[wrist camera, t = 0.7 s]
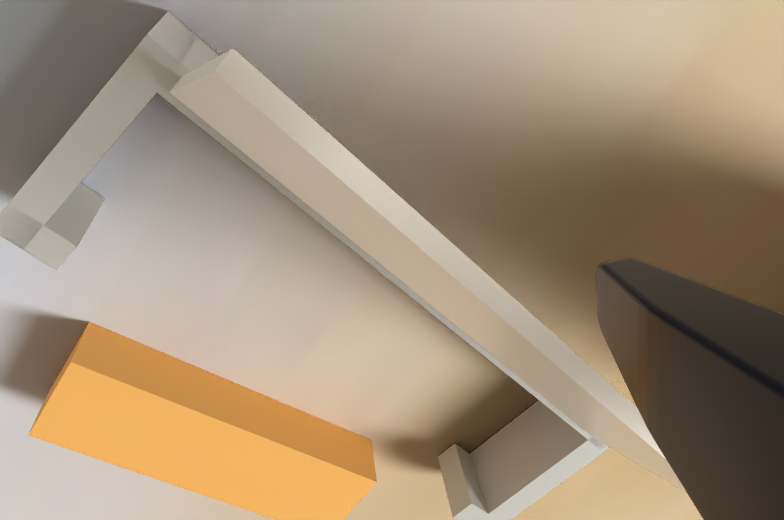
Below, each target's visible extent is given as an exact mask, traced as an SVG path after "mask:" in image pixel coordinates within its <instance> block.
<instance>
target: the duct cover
mask: <svg viewBox="0 0 784 520" xmlns="http://www.w3.org/2000/svg"><path fill="white" fill-rule="evenodd" d="M169 93H171V94H172V95H173V96H174V97H175V98H177V99H178V100H179V101H180V102H182V103H183V104H184V105H185V106H187V107H188V108H189V109H190V110H191V111H193V112H194V113H195V114H196V115H198V116H199V117H200V118H201V119H203V120H204V121H205V122H206V123H207V124H209V125H210V126H211V127H212V128H214V129H215V130H216V131H217V132H219V133H220V134H221V135H222V136H223V137H225V138H226V139H227V140H228V141H230V142H231V143H232V144H233V145H235V146H236V147H237V148H238V149H239V150H241V151H242V152H243V153H244V154H246V155H247V156H248V157H249V158H251V159H252V160H253V161H254V162H255V163H257V164H258V165H259V166H260V167H262V168H263V169H264V170H265V171H266V172H268V173H269V174H270V175H271V176H273V177H274V178H275V179H276V180H278V181H279V182H280V183H281V184H282V185H284V186H285V187H286V188H287V189H289V190H290V191H291V192H292V193H294V194H295V195H296V196H297V197H298V198H300V199H301V200H302V201H303V202H305V203H306V204H307V205H308V206H310V207H311V208H312V209H313V210H314V211H316V212H317V213H318V214H319V215H321V216H322V217H323V218H324V219H326V220H327V221H328V222H329V223H330V224H332V225H333V226H334V227H335V228H337V229H338V230H339V231H340V232H342V233H343V234H344V235H345V236H346V237H348V238H349V239H350V240H351V241H353V242H354V243H355V244H356V245H358V246H359V247H360V248H361V249H362V250H364V251H365V252H366V253H367V254H369V255H370V256H371V257H372V258H374V259H375V260H376V261H377V262H378V263H380V264H381V265H382V266H383V267H385V268H386V269H387V270H388V271H390V272H391V273H392V274H393V275H394V276H396V277H397V278H398V279H399V280H401V281H402V282H403V283H404V284H406V285H407V286H408V287H409V288H410V289H412V290H413V291H414V292H415V293H417V294H418V295H419V296H420V297H422V298H423V299H424V300H425V301H426V302H428V303H429V304H430V305H431V306H433V307H434V308H435V309H436V310H437V311H439V312H440V313H441V314H442V315H444V316H445V317H446V318H447V319H449V320H450V321H451V322H452V323H453V324H455V325H456V326H457V327H458V328H460V329H461V330H462V331H463V332H465V333H466V334H467V335H468V336H469V337H471V338H472V339H473V340H474V341H476V342H477V343H478V344H479V345H481V346H482V347H483V348H484V349H485V350H487V351H488V352H489V353H490V354H492V355H493V356H494V357H495V358H497V359H498V360H499V361H500V362H501V363H503V364H504V365H505V366H506V367H508V368H509V369H510V370H511V371H513V372H514V373H515V374H516V375H517V376H519V377H520V378H521V379H522V380H524V381H525V382H526V383H527V384H529V385H530V386H531V387H532V388H533V389H535V390H536V391H537V392H538V393H540V394H541V395H542V396H543V397H545V398H546V399H547V400H548V401H549V402H551V403H552V404H553V405H554V406H556V407H557V408H558V409H559V410H561V411H562V412H563V413H564V414H565V415H567V416H568V417H569V418H570V419H572V420H573V421H574V422H575V423H577V424H578V425H579V426H580V427H581V428H583V429H584V430H585V431H586V432H588V433H589V434H590V435H591V436H592V437H594V438H595V439H596V440H598V441H600V442H601V443H603V444H605V445H607V446H608V447H610V448H612V449H613V450H615V451H617V452H618V453H620V454H622V455H623V456H625V457H627V458H628V459H630V460H632V461H633V462H635V463H637V464H638V465H640V466H642V467H644V468H645V469H647V470H649V471H650V472H652V473H654V474H655V475H657V476H659V477H660V478H662V479H664V480H665V481H667V482H669V483H670V484H672V485H674V486H675V487H677V488H679V489H681V490H682V491H684V492H686V490H685V489H684V487H683V486H682V484H681V482H680V481H679V479H678V478H677V476H676V474H675V473H674V471H673V470H672V468H671V466H670V465H669V463H668V462H667V460H666V458H665V457H664V455H663V453H662V452H661V450H660V449H659V447H658V445H657V444H656V442H655V440H654V439H653V437H652V435H651V434H650V432H649V430H648V428H647V427H646V425H645V422H644V420H643V418H642V416H641V414H640V412H639V410H638V408H637V407H636V406H635V405H634V404H632V403H631V402H630V401H629V400H628V399H627V398H626V397H625V396H623V395H622V394H621V393H620V392H619V391H618V390H617V389H616V388H614V387H613V386H612V385H611V384H610V383H609V382H608V381H607V380H605V379H604V378H603V377H602V376H601V375H600V374H599V373H598V372H596V371H595V370H594V369H593V368H592V367H591V366H590V365H589V364H587V363H586V362H585V361H584V360H583V359H582V358H581V357H580V356H579V355H577V354H576V353H575V352H574V351H573V350H572V349H571V348H570V347H568V346H567V345H566V344H565V343H564V342H563V341H562V340H561V339H559V338H558V337H557V336H556V335H555V334H554V333H553V332H552V331H550V330H549V329H548V328H547V327H546V326H545V325H544V324H543V323H541V322H540V321H539V320H538V319H537V318H536V317H535V316H534V315H532V314H531V313H530V312H529V311H528V310H527V309H526V308H525V307H523V306H522V305H521V304H520V303H519V302H518V301H517V300H516V299H514V298H513V297H512V296H511V295H510V294H509V293H508V292H507V291H505V290H504V289H503V288H502V287H501V286H500V285H499V284H498V283H496V282H495V281H494V280H493V279H492V278H491V277H490V276H489V275H487V274H486V273H485V272H484V271H483V270H482V269H481V268H480V267H478V266H477V265H476V264H475V263H474V262H473V261H472V260H471V259H470V258H468V257H467V256H466V255H465V254H464V253H463V252H462V251H461V250H459V249H458V248H457V247H456V246H455V245H454V244H453V243H452V242H450V241H449V240H448V239H447V238H446V237H445V236H444V235H443V234H441V233H440V232H439V231H438V230H437V229H436V228H435V227H434V226H432V225H431V224H430V223H429V222H428V221H427V220H426V219H425V218H423V217H422V216H421V215H420V214H419V213H418V212H417V211H416V210H414V209H413V208H412V207H411V206H410V205H409V204H408V203H407V202H405V201H404V200H403V199H402V198H401V197H400V196H399V195H398V194H396V193H395V192H394V191H393V190H392V189H391V188H390V187H389V186H387V185H386V184H385V183H384V182H383V181H382V180H381V179H380V178H378V177H377V176H376V175H375V174H374V173H373V172H372V171H371V170H370V169H368V168H367V167H366V166H365V165H364V164H363V163H362V162H361V161H359V160H358V159H357V158H356V157H355V156H354V155H353V154H352V153H350V152H349V151H348V150H347V149H346V148H345V147H344V146H343V145H341V144H340V143H339V142H338V141H337V140H336V139H335V138H334V137H332V136H331V135H330V134H329V133H328V132H327V131H326V130H325V129H323V128H322V127H321V126H320V125H319V124H318V123H317V122H316V121H314V120H313V119H312V118H311V117H310V116H309V115H308V114H307V113H305V112H304V111H303V110H302V109H301V108H300V107H299V106H298V105H296V104H295V103H294V102H293V101H292V100H291V99H290V98H289V97H287V96H286V95H285V94H284V93H283V92H282V91H281V90H280V89H278V88H277V87H276V86H275V85H274V84H273V83H272V82H271V81H270V80H268V79H267V78H266V77H265V76H264V75H263V74H262V73H261V72H259V71H258V70H257V69H256V68H255V67H254V66H253V65H252V64H250V63H249V62H248V61H247V60H246V59H245V58H244V57H243V56H241V55H240V54H239V53H238V52H237V51H236V50H235V49H234V48H233V49H231V50H229V51H227V52H225V53H224V54H222V55H220V56H218V57H216V58H215V59H213V60H211V61H209V62H207V63H206V64H204V65H202V66H200V67H198V68H197V69H195V70H193V71H191V72H189V73H188V74H186V75H184V76H182V77H181V78H180V79H179V81H178V82H177V83H176V84H175V86H174V87H173V88H172V89H171V91H170V92H169ZM686 493H687V492H686Z"/></svg>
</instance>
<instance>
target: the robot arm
mask: <svg viewBox="0 0 784 520" xmlns="http://www.w3.org/2000/svg"><path fill="white" fill-rule="evenodd" d="M596 285H597V308H598V320H599V324H600V328H601V331H602V333H603V335H604V337H605V340H606V342H607V344H608V346H609V348H610V350H611V352H612V355H613V357H614V359H615V361H616V363H617V365H618V367H619V370H620V372H621V374H622V376H623V378H624V380H625V382H626V385H627V387H628V389H629V391H630V393H631V395H632V397H633V400H634V402H635V404H636V406H637V408H638V410H639V412H640V414H641V416H642V418H643V420H644V422H645V425H646V427H647V428H648V430H649V432H650V434H651V435H652V437H653V439H654V440H655V442H656V444H657V445H658V447H659V449H660V450H661V452H662V453H663V455H664V457H665V458H666V460H667V462H668V463H669V465H670V466H671V468H672V470H673V471H674V473H675V474H676V476H677V478H678V479H679V481H680V482H681V484H682V486H683V487H684V489H685V490H686V492H687V494H688V495H689V497H690V498H691V500H692V502H693V503H694V505H695V506H696V508H697V510H698V511H699V513H700V514H701V516H702V518H703V519H704V520H784V313H781V312H778V311H776V310H773V309H770V308H767V307H765V306H762V305H759V304H757V303H754V302H751V301H748V300H746V299H743V298H740V297H738V296H735V295H732V294H730V293H727V292H724V291H721V290H719V289H716V288H713V287H711V286H708V285H705V284H702V283H700V282H697V281H694V280H692V279H689V278H686V277H684V276H681V275H678V274H675V273H673V272H670V271H667V270H665V269H662V268H659V267H656V266H654V265H651V264H648V263H646V262H643V261H640V260H637V259H635V258H632V257H623V258H619V259H615V260H611V261H606V262H602V263H600V264H599V266H598V267H597V271H596Z"/></svg>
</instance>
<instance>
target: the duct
mask: <svg viewBox="0 0 784 520" xmlns="http://www.w3.org/2000/svg"><path fill="white" fill-rule="evenodd" d="M218 56H219V55H218V54H217V53H216V52H214V51H213V50H212V49H211V48H210V47H209V46H208V45H206V44H205V43H204V42H203V41H202V40H201V39H200V38H198V37H197V36H196V35H195V34H194V33H193V32H192V31H190V30H189V29H188V28H187V27H186V26H185V25H184V24H182V23H181V22H180V21H179V20H178V19H177V18H176V17H174V16H173V15H172V14H171V13H170V12H169V11H168V12H167V13H166V14H165V15H164V16H163V17H162V18H161V19H160V20H159V22H158V23H157V24H156V25H155V26H154V27H153V28H152V29H151V30H150V31H149V32H148V33H147V35H146V36H145V37H144V38H143V39H142V41H141V42H140V43H139V44H138V46H137V47H136V48H135V49H134V51H133V52H132V53H131V54H130V55H129V57H128V58H127V59H126V60H125V62H124V63H123V64H122V65H121V66H120V68H119V69H118V70H117V71H116V73H115V74H114V75H113V76H112V77H111V79H110V80H109V81H108V82H107V84H106V85H105V86H104V87H103V88H102V90H101V91H100V92H99V93H98V95H97V96H96V97H95V98H94V99H93V101H92V102H91V103H90V104H89V106H88V107H87V108H86V109H85V110H84V112H83V113H82V114H81V115H80V117H79V118H78V119H77V120H76V121H75V123H74V124H73V125H72V126H71V128H70V129H69V130H68V131H67V132H66V134H65V135H64V136H63V137H62V139H61V140H60V141H59V142H58V144H57V145H56V146H55V147H54V148H53V150H52V151H51V152H50V153H49V155H48V156H47V157H46V158H45V159H44V161H43V162H42V163H41V164H40V166H39V167H38V168H37V169H36V170H35V172H34V173H33V174H32V175H31V177H30V178H29V179H28V180H27V181H26V183H25V184H24V185H23V186H22V188H21V189H20V190H19V191H18V192H17V194H16V195H15V196H14V197H13V199H12V200H11V201H10V202H9V203H8V205H7V206H6V207H5V208H4V210H3V211H2V212H1V213H0V235H1V236H2V237H4V238H5V239H7V240H9V241H10V242H12V243H13V244H15V245H17V246H18V247H20V248H21V249H23V250H25V251H26V252H28V253H29V254H31V255H33V256H34V257H36V258H37V259H39V260H41V261H42V262H44V263H45V264H47V265H49V266H50V267H52V268H53V269H55V270H57V269H58V268H59V267H60V265H61V264H62V263H63V262H64V261H65V260H66V259H67V257H68V256H69V255H70V254H71V253H72V252H73V251H74V249H75V248H76V247H77V246H78V244H79V242H80V241H81V239H82V237H83V235H84V234H85V232H86V230H87V229H88V227H89V225H90V223H91V222H92V220H93V218H94V216H95V215H96V213H97V211H98V210H99V208H100V206H101V204H102V203H103V201H104V198H102V197H101V196H99V195H98V194H97V193H95V192H94V191H92V190H91V189H89V188H88V187H86V186H85V185H84V184H82V183H81V181H82V180H83V179H84V177H85V176H86V175H87V174H88V173H89V171H90V170H91V169H92V168H93V167H94V166H95V164H96V163H97V162H98V161H99V160H100V158H101V157H102V156H103V155H104V154H105V153H106V151H107V150H108V149H109V148H110V147H111V146H112V144H113V143H114V142H115V141H116V140H117V138H118V137H119V136H120V135H121V134H122V133H123V131H124V130H125V129H126V128H127V127H128V125H129V124H130V123H131V122H132V121H133V120H134V118H135V117H136V116H137V115H138V114H139V113H140V111H141V110H142V109H143V108H144V107H145V105H146V104H147V103H148V102H149V101H150V100H151V98H152V97H153V96H154V95H155V94H156V93H158V94H159V95H161V96H162V97H163V98H164V99H166V100H167V101H168V102H169V103H171V104H172V105H173V106H174V107H175V108H177V109H178V110H179V111H180V112H182V113H183V114H184V115H185V116H187V117H188V118H189V119H190V120H192V121H193V122H194V123H195V124H197V125H198V126H199V127H200V128H202V129H203V130H204V131H205V132H207V133H208V134H209V135H210V136H212V137H213V138H214V139H215V140H216V141H218V142H219V143H220V144H221V145H223V146H224V147H225V148H226V149H228V150H229V151H230V152H231V153H233V154H234V155H235V156H236V157H238V158H239V159H240V160H241V161H243V162H244V163H245V164H246V165H248V166H249V167H250V168H251V169H252V170H254V171H255V172H256V173H257V174H259V175H260V176H261V177H262V178H264V179H265V180H266V181H267V182H269V183H270V184H271V185H272V186H274V187H275V188H276V189H277V190H279V191H280V192H281V193H282V194H284V195H285V196H286V197H287V198H289V199H290V200H291V201H292V202H293V203H295V204H296V205H297V206H298V207H300V208H301V209H302V210H303V211H305V212H306V213H307V214H308V215H310V216H311V217H312V218H313V219H315V220H316V221H317V222H318V223H320V224H321V225H322V226H323V227H325V228H326V229H327V230H328V231H329V232H331V233H332V234H333V235H334V236H336V237H337V238H338V239H339V240H341V241H342V242H343V243H344V244H346V245H347V246H348V247H349V248H351V249H352V250H353V251H354V252H356V253H357V254H358V255H359V256H361V257H362V258H363V259H364V260H366V261H367V262H368V263H369V264H370V265H372V266H373V267H374V268H375V269H377V270H378V271H379V272H380V273H382V274H383V275H384V276H385V277H387V278H388V279H389V280H390V281H392V282H393V283H394V284H395V285H397V286H398V287H399V288H400V289H402V290H403V291H404V292H405V293H406V294H408V295H409V296H410V297H411V298H413V299H414V300H415V301H416V302H418V303H419V304H420V305H421V306H423V307H424V308H425V309H426V310H428V311H429V312H430V313H431V314H433V315H434V316H435V317H436V318H438V319H439V320H440V321H441V322H442V323H444V324H445V325H446V326H447V327H449V328H450V329H451V330H452V331H454V332H455V333H456V334H457V335H459V336H460V337H461V338H462V339H464V340H465V341H466V342H467V343H469V344H470V345H471V346H472V347H474V348H475V349H476V350H477V351H479V352H480V353H481V354H482V355H483V356H485V357H486V358H487V359H488V360H490V361H491V362H492V363H493V364H495V365H496V366H497V367H498V368H500V369H501V370H502V371H503V372H505V373H506V374H507V375H508V376H510V377H511V378H512V379H513V380H515V381H516V382H517V383H518V384H519V385H521V386H522V387H523V388H524V389H526V390H527V391H528V392H529V393H531V394H532V395H533V396H534V397H536V398H537V399H538V401H537V402H535V403H534V404H533V405H532V406H530V407H529V408H528V409H527V410H525V411H524V412H523V413H521V414H520V415H519V416H518V417H516V418H515V419H514V420H512V421H511V422H510V423H509V424H507V425H506V426H505V427H503V428H502V429H501V430H500V431H498V432H497V433H496V434H495V435H493V436H492V437H491V438H489V439H488V440H487V441H486V442H484V443H483V444H482V445H480V446H479V447H478V448H477V449H475V450H474V451H473V452H472V453H470V454H469V453H468V452H467V451H465V450H464V449H462V448H461V447H459V446H458V445H457V444H455V443H454V444H453V445H452V446H451V447H449V448H448V449H447V450H446V451H444V452H443V453H442V454H441V455H439V456H438V460H439V464H440V468H441V472H442V476H443V480H444V484H445V488H446V492H447V496H448V500H449V504H450V508H451V512H452V516H453V518H454V519H456V520H511V519H512V518H514V517H515V516H516V515H518V514H519V513H521V512H522V511H523V510H525V509H526V508H527V507H529V506H530V505H531V504H533V503H534V502H536V501H537V500H538V499H540V498H541V497H542V496H544V495H545V494H547V493H548V492H549V491H551V490H552V489H553V488H555V487H556V486H558V485H559V484H560V483H562V482H563V481H564V480H566V479H567V478H568V477H570V476H571V475H573V474H574V473H575V472H577V471H578V470H579V469H581V468H582V467H584V466H585V465H586V464H588V463H589V462H590V461H592V460H593V459H594V458H596V457H597V456H599V455H600V454H601V453H603V452H604V451H605V450H607V449H608V448H610V447H608V446H607V445H605V444H603V443H601V442H600V441H598V440H596V439H595V438H594V437H592V436H591V435H590V434H589V433H588V432H586V431H585V430H584V429H583V428H581V427H580V426H579V425H578V424H577V423H575V422H574V421H573V420H572V419H570V418H569V417H568V416H567V415H565V414H564V413H563V412H562V411H561V410H559V409H558V408H557V407H556V406H554V405H553V404H552V403H551V402H549V401H548V400H547V399H546V398H545V397H543V396H542V395H541V394H540V393H538V392H537V391H536V390H535V389H533V388H532V387H531V386H530V385H529V384H527V383H526V382H525V381H524V380H522V379H521V378H520V377H519V376H517V375H516V374H515V373H514V372H513V371H511V370H510V369H509V368H508V367H506V366H505V365H504V364H503V363H501V362H500V361H499V360H498V359H497V358H495V357H494V356H493V355H492V354H490V353H489V352H488V351H487V350H485V349H484V348H483V347H482V346H481V345H479V344H478V343H477V342H476V341H474V340H473V339H472V338H471V337H469V336H468V335H467V334H466V333H465V332H463V331H462V330H461V329H460V328H458V327H457V326H456V325H455V324H453V323H452V322H451V321H450V320H449V319H447V318H446V317H445V316H444V315H442V314H441V313H440V312H439V311H437V310H436V309H435V308H434V307H433V306H431V305H430V304H429V303H428V302H426V301H425V300H424V299H423V298H422V297H420V296H419V295H418V294H417V293H415V292H414V291H413V290H412V289H410V288H409V287H408V286H407V285H406V284H404V283H403V282H402V281H401V280H399V279H398V278H397V277H396V276H394V275H393V274H392V273H391V272H390V271H388V270H387V269H386V268H385V267H383V266H382V265H381V264H380V263H378V262H377V261H376V260H375V259H374V258H372V257H371V256H370V255H369V254H367V253H366V252H365V251H364V250H362V249H361V248H360V247H359V246H358V245H356V244H355V243H354V242H353V241H351V240H350V239H349V238H348V237H346V236H345V235H344V234H343V233H342V232H340V231H339V230H338V229H337V228H335V227H334V226H333V225H332V224H330V223H329V222H328V221H327V220H326V219H324V218H323V217H322V216H321V215H319V214H318V213H317V212H316V211H314V210H313V209H312V208H311V207H310V206H308V205H307V204H306V203H305V202H303V201H302V200H301V199H300V198H298V197H297V196H296V195H295V194H294V193H292V192H291V191H290V190H289V189H287V188H286V187H285V186H284V185H282V184H281V183H280V182H279V181H278V180H276V179H275V178H274V177H273V176H271V175H270V174H269V173H268V172H266V171H265V170H264V169H263V168H262V167H260V166H259V165H258V164H257V163H255V162H254V161H253V160H252V159H251V158H249V157H248V156H247V155H246V154H244V153H243V152H242V151H241V150H239V149H238V148H237V147H236V146H235V145H233V144H232V143H231V142H230V141H228V140H227V139H226V138H225V137H223V136H222V135H221V134H220V133H219V132H217V131H216V130H215V129H214V128H212V127H211V126H210V125H209V124H207V123H206V122H205V121H204V120H203V119H201V118H200V117H199V116H198V115H196V114H195V113H194V112H193V111H191V110H190V109H189V108H188V107H187V106H185V105H184V104H183V103H182V102H180V101H179V100H178V99H177V98H175V97H174V96H173V95H172V94H171V93H169V92H170V91H171V89H172V88H173V87H174V86H175V84H176V83H177V82H178V81H179V79H180V78H181V77H182V76H184V75H186V74H188V73H189V72H191V71H193V70H195V69H197V68H198V67H200V66H202V65H204V64H206V63H207V62H209V61H211V60H213V59H215V58H216V57H218Z"/></svg>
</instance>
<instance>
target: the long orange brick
mask: <svg viewBox="0 0 784 520" xmlns="http://www.w3.org/2000/svg"><path fill="white" fill-rule="evenodd" d="M29 436H32V437H35V438H38V439H41V440H44V441H47V442H50V443H53V444H56V445H59V446H62V447H64V448H67V449H70V450H73V451H76V452H79V453H82V454H85V455H88V456H91V457H94V458H97V459H100V460H102V461H105V462H108V463H111V464H114V465H117V466H120V467H123V468H126V469H129V470H132V471H135V472H138V473H140V474H143V475H146V476H149V477H152V478H155V479H158V480H161V481H164V482H167V483H170V484H173V485H176V486H178V487H181V488H184V489H187V490H190V491H193V492H196V493H199V494H202V495H205V496H208V497H211V498H214V499H217V500H219V501H222V502H225V503H228V504H231V505H234V506H237V507H240V508H243V509H246V510H249V511H252V512H255V513H257V514H260V515H263V516H266V517H269V518H272V519H275V520H343V519H344V518H345V517H346V516H347V514H348V513H349V512H350V511H351V510H352V509H353V508H354V507H355V505H356V504H357V503H358V502H359V501H360V500H361V499H362V498H363V497H364V495H365V494H366V493H367V492H368V491H369V490H370V489H371V488H372V486H373V485H374V484H375V483H376V482H377V481H376V473H375V466H374V458H373V451H372V443H371V440H370V439H367V438H365V437H362V436H360V435H358V434H355V433H353V432H351V431H348V430H346V429H343V428H341V427H339V426H336V425H334V424H332V423H329V422H327V421H324V420H322V419H320V418H317V417H315V416H313V415H310V414H308V413H305V412H303V411H301V410H298V409H296V408H293V407H291V406H289V405H286V404H284V403H282V402H279V401H277V400H274V399H272V398H270V397H267V396H265V395H263V394H260V393H258V392H255V391H253V390H251V389H248V388H246V387H243V386H241V385H239V384H236V383H234V382H232V381H229V380H227V379H224V378H222V377H220V376H217V375H215V374H213V373H210V372H208V371H205V370H203V369H201V368H198V367H196V366H194V365H191V364H189V363H186V362H184V361H182V360H179V359H177V358H174V357H172V356H170V355H167V354H165V353H163V352H160V351H158V350H155V349H153V348H151V347H148V346H146V345H144V344H141V343H139V342H136V341H134V340H132V339H129V338H127V337H125V336H122V335H120V334H117V333H115V332H113V331H110V330H108V329H105V328H103V327H101V326H98V325H96V324H94V323H91V322H89V323H88V325H87V326H86V328H85V330H84V332H83V333H82V335H81V337H80V338H79V340H78V342H77V344H76V345H75V347H74V349H73V351H72V352H71V354H70V356H69V357H68V359H67V361H66V363H65V364H64V366H63V368H62V370H61V371H60V373H59V375H58V376H57V378H56V380H55V382H54V383H53V385H52V387H51V389H50V390H49V392H48V394H47V396H46V398H45V401H44V403H43V405H42V407H41V409H40V411H39V413H38V416H37V418H36V420H35V422H34V424H33V426H32V428H31V430H30V433H29Z"/></svg>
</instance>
